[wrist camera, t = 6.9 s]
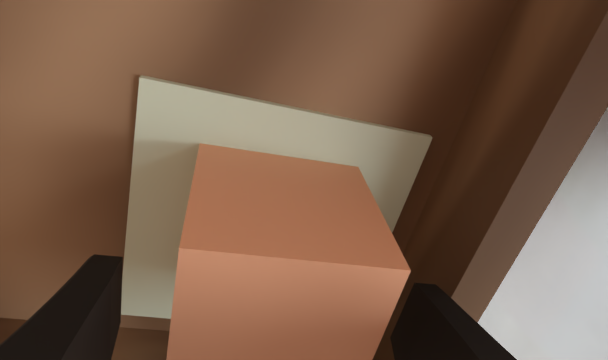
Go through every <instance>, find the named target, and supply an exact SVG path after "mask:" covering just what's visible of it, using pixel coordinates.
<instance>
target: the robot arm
mask: <svg viewBox="0 0 608 360" xmlns="http://www.w3.org/2000/svg"><path fill="white" fill-rule="evenodd" d="M122 271H123V257H120V256H108V255H97V254H94V255H92V256H91V257H89V258H88V259H87V260H86V262H85V263H84V264H83V265H82V266H81V267H80V268H79V269H78V270H77V271H76V272H75V274H74V275H73V276H72V277H71V278H70V279H69V280H68V281H67V282H66V283H65V284H64V285H63V286H62V287H61V288H60V289H59V290H58V291H57V292H56V293H55V294H54V295H53V296H52V297H51V298H50V299H49V300H48V301H47V302H46V303H45V304H44V305H43V306H42V307H41V308H40V309H39V310H38V311H36V312H35V313H34V314H33V315H32V316H31V317H30V318H29V319H28V320H27V321H26V322H25V323H24V324H23V325H22V326H21V327H19V328H18V329H17V330H16V331H15V332H14V333H13V334H11V335H10V336H9V337H8V338H7V339H6V340H5V341H3V342H2V343H1V344H0V360H111V358H112V354H113V350H114V347H115V343H116V339H117V335H118V331H119V327H120V323H121V299H122ZM390 339H391V344H392V349H393V354H394V359H395V360H517V359H516V358H514V357H513V356H512V355H511V354H510V353H509V352H508V351H507V350H506V349H505V348H503V347H502V346H501V345H500V344H499V343H498V342H497V341H496V340H495V339H494V338H493V337H492V336H491V335H489V334H488V333H487V332H486V331H485V330H484V329H483V328H482V327H481V326H480V325H479V324H478V323H477V322H476V321H475V320H474V319H473V318H472V317H471V316H470V315H469V314H467V313H466V312H465V311H464V310H463V309H462V308H461V307H460V306H459V305H458V304H457V303H456V302H455V301H454V300H453V299H452V298H451V297H449V296H448V295H447V294H446V293H445V292H444V291H443V290H442V289H440V288H439V287H438V286H437V285H436V284H426V283H415V282H414V285H413V287H412V289H411V291H410V294H409V296H408V298H407V300H406V303H405V305H404V307H403V309H402V312H401V314H400V316H399V319H398V321H397V323H396V325H395V328H394V330H393V332H392V334H391V337H390Z"/></svg>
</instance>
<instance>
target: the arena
mask: <svg viewBox="0 0 608 360" xmlns="http://www.w3.org/2000/svg"><path fill="white" fill-rule="evenodd" d="M607 107H608V0H0V344H1V343H2V342H3V341H5V340H6V339H7V338H8V337H9V336H10V335H11V334H13V333H14V332H15V331H16V330H17V329H18V328H19V327H21V326H22V325H23V324H24V323H25V322H26V321H27V320H28V319H29V318H30V317H31V316H32V315H33V314H34V313H35V312H36V311H38V310H39V309H40V308H41V307H42V306H43V305H44V304H45V303H46V302H47V301H48V300H49V299H50V298H51V297H52V296H53V295H54V294H55V293H56V292H57V291H58V290H59V289H60V288H61V287H62V286H63V285H64V284H65V283H66V282H67V281H68V280H69V279H70V278H71V277H72V276H73V275H74V274H75V272H76V271H77V270H78V269H79V268H80V267H81V266H82V265H83V264H84V263H85V262H86V260H87V259H88V258H89V257H91V256H92V255H94V254H97V255H108V256H120V257H123V271H122V299H121V323H120V327H119V331H118V335H117V339H116V343H115V347H114V350H113V354H112V358H111V360H166V358H167V349H168V340H169V331H170V323H171V314H172V305H173V296H174V287H175V279H176V270H177V261H178V252H179V245H180V240H181V235H182V230H183V225H184V220H185V215H186V210H187V205H188V200H189V195H190V190H191V185H192V180H193V175H194V170H195V165H196V160H197V155H198V150H199V144H200V143H202V144H208V145H215V146H222V147H228V148H235V149H242V150H249V151H255V152H262V153H269V154H275V155H282V156H289V157H295V158H302V159H309V160H316V161H322V162H329V163H336V164H342V165H349V166H356V167H359V169H360V171H361V173H362V175H363V177H364V179H365V181H366V183H367V185H368V187H369V189H370V191H371V193H372V195H373V197H374V199H375V201H376V203H377V205H378V207H379V209H380V211H381V213H382V215H383V216H384V218H385V220H386V222H387V224H388V226H389V228H390V230H391V232H392V234H393V236H394V238H395V240H396V242H397V244H398V246H399V248H400V250H401V252H402V254H403V256H404V258H405V260H406V262H407V264H408V266H409V268H410V270H411V272H410V274H409V276H408V279H407V281H406V283H405V286H404V288H403V290H402V293H401V295H400V297H399V299H398V302H397V304H396V306H395V309H394V311H393V313H392V316H391V318H390V320H389V323H388V325H387V327H386V330H385V332H384V334H383V336H382V339H381V341H380V343H379V346H378V348H377V350H376V353H375V355H374V357H373V360H395V359H394V354H393V349H392V344H391V339H390V337H391V334H392V332H393V330H394V328H395V325H396V323H397V321H398V319H399V316H400V314H401V312H402V309H403V307H404V305H405V303H406V300H407V298H408V296H409V294H410V291H411V289H412V287H413V285H414V282H415V283H426V284H436V285H437V286H438V287H439V288H440V289H442V290H443V291H444V292H445V293H446V294H447V295H448V296H449V297H451V298H452V299H453V300H454V301H455V302H456V303H457V304H458V305H459V306H460V307H461V308H462V309H463V310H464V311H465V312H466V313H467V314H469V315H470V316H471V317H472V318H473V319H474V320H475V321H476V322H478V321H479V319H480V317H481V316H482V314H483V312H484V311H485V309H486V307H487V306H488V304H489V302H490V301H491V299H492V297H493V296H494V294H495V292H496V291H497V289H498V287H499V286H500V284H501V282H502V281H503V279H504V277H505V276H506V274H507V273H508V271H509V269H510V268H511V266H512V264H513V263H514V261H515V259H516V258H517V256H518V254H519V253H520V251H521V249H522V248H523V246H524V244H525V243H526V241H527V239H528V238H529V236H530V234H531V233H532V231H533V229H534V228H535V226H536V224H537V223H538V221H539V219H540V218H541V216H542V214H543V213H544V211H545V210H546V208H547V206H548V205H549V203H550V201H551V200H552V198H553V196H554V195H555V193H556V191H557V190H558V188H559V186H560V185H561V183H562V181H563V180H564V178H565V176H566V175H567V173H568V171H569V170H570V168H571V166H572V165H573V163H574V161H575V160H576V158H577V156H578V155H579V153H580V151H581V150H582V148H583V147H584V145H585V143H586V142H587V140H588V138H589V137H590V135H591V133H592V132H593V130H594V128H595V127H596V125H597V123H598V122H599V120H600V118H601V117H602V115H603V113H604V112H605V110H606V108H607Z"/></svg>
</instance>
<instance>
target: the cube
mask: <svg viewBox="0 0 608 360" xmlns="http://www.w3.org/2000/svg"><path fill="white" fill-rule="evenodd" d="M410 272H411V270H410V268H409V266H408V264H407V262H406V260H405V258H404V256H403V254H402V252H401V250H400V248H399V246H398V244H397V242H396V240H395V238H394V236H393V234H392V232H391V230H390V228H389V226H388V224H387V222H386V220H385V218H384V216H383V215H382V213H381V211H380V209H379V207H378V205H377V203H376V201H375V199H374V197H373V195H372V193H371V191H370V189H369V187H368V185H367V183H366V181H365V179H364V177H363V175H362V173H361V171H360V169H359V167H356V166H349V165H342V164H336V163H329V162H322V161H316V160H309V159H302V158H295V157H289V156H282V155H275V154H269V153H262V152H255V151H249V150H242V149H235V148H228V147H222V146H215V145H208V144H202V143H200V144H199V150H198V155H197V160H196V165H195V170H194V175H193V180H192V185H191V190H190V195H189V200H188V205H187V210H186V215H185V220H184V225H183V230H182V235H181V240H180V245H179V252H178V261H177V270H176V279H175V287H174V296H173V305H172V314H171V323H170V331H169V340H168V349H167V358H166V360H373V357H374V355H375V353H376V350H377V348H378V346H379V343H380V341H381V339H382V336H383V334H384V332H385V330H386V327H387V325H388V323H389V320H390V318H391V316H392V313H393V311H394V309H395V306H396V304H397V302H398V299H399V297H400V295H401V293H402V290H403V288H404V286H405V283H406V281H407V279H408V276H409V274H410Z"/></svg>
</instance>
